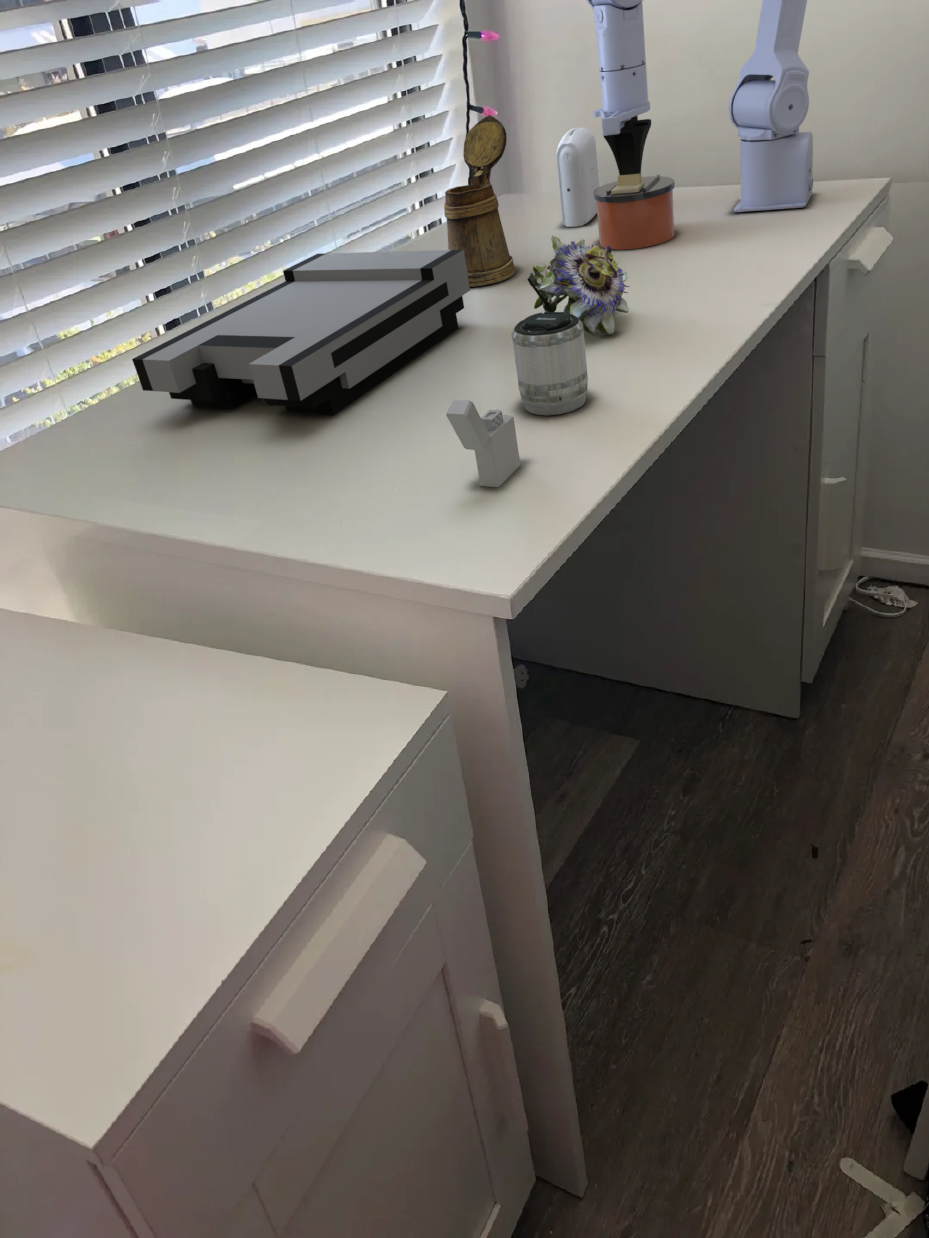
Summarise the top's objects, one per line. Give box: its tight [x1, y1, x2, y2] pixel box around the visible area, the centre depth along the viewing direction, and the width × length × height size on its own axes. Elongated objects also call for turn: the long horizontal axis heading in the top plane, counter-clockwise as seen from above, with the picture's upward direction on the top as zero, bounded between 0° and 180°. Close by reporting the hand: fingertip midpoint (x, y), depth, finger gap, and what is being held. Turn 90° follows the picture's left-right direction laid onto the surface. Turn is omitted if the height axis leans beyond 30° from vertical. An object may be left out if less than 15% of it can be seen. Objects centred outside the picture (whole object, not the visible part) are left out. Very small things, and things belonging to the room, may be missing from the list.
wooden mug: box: [443, 114, 516, 288], centre depth 129 cm, size 9×14×18 cm, turn 154°
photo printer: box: [555, 126, 600, 228], centre depth 148 cm, size 10×4×12 cm, turn 160°
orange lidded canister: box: [593, 174, 676, 251], centre depth 134 cm, size 11×11×7 cm
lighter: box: [445, 399, 521, 488], centre depth 78 cm, size 7×2×8 cm, turn 151°
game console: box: [131, 249, 471, 417], centre depth 108 cm, size 21×32×8 cm, turn 150°
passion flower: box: [526, 235, 630, 336], centre depth 106 cm, size 11×11×12 cm
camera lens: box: [511, 311, 589, 417], centre depth 89 cm, size 6×6×8 cm
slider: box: [611, 172, 644, 194], centre depth 129 cm, size 4×3×2 cm
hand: (630, 184), depth 131 cm, fingers closed, pressing on slider
